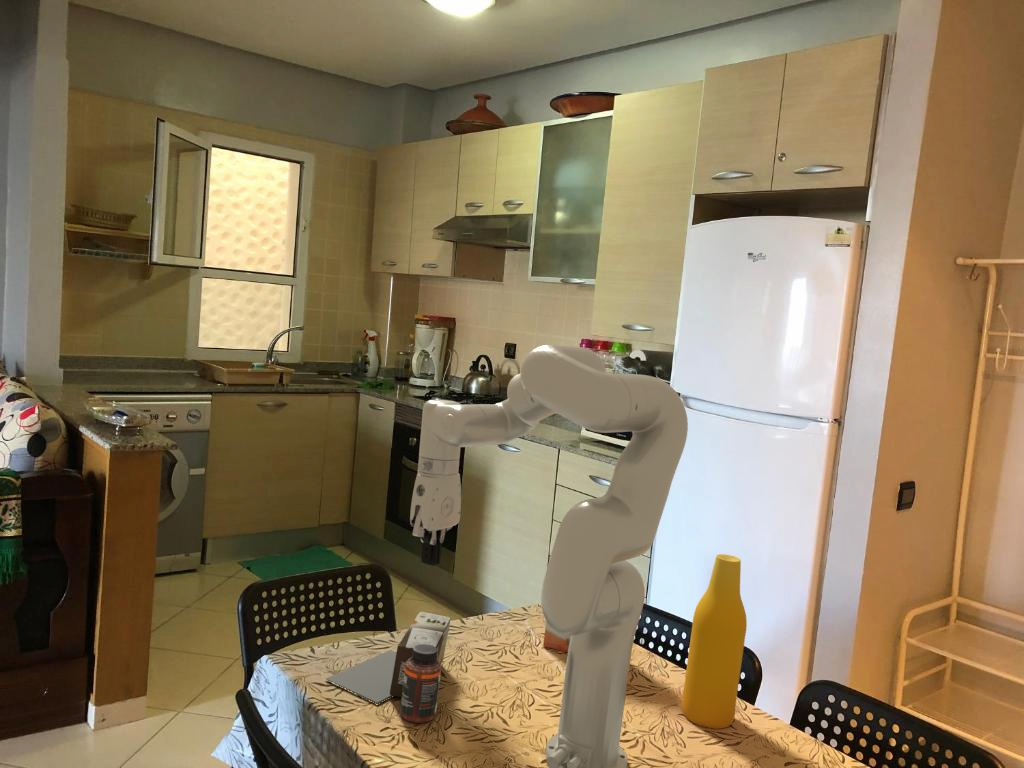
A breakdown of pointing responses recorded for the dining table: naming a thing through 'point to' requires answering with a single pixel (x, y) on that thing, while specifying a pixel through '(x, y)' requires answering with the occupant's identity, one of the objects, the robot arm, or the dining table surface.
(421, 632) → the coffee box
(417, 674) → the supplement bottle
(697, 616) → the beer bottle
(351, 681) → the mat
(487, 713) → the dining table surface
